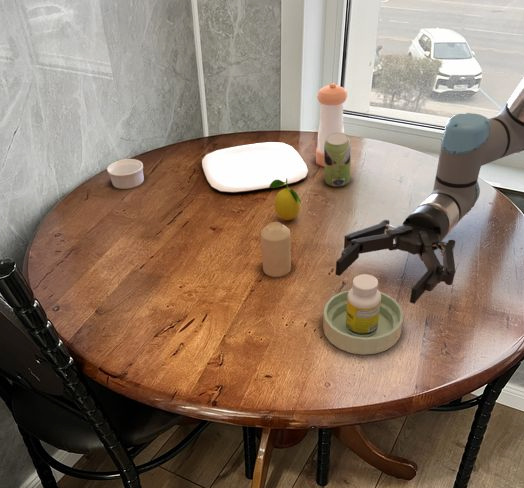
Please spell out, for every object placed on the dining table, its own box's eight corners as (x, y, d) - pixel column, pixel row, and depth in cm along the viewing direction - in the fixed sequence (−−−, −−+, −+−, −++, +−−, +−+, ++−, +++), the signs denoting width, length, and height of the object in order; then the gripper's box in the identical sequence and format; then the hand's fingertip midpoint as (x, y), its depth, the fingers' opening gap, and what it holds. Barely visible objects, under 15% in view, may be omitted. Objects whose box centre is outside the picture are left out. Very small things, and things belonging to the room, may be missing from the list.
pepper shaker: (336, 154, 143) (339, 76, 129) (349, 165, 138) (353, 85, 124) (311, 159, 141) (312, 81, 128) (323, 170, 136) (325, 91, 123)
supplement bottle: (345, 316, 94) (348, 270, 88) (376, 317, 94) (382, 271, 87) (345, 337, 90) (348, 291, 84) (378, 338, 90) (384, 292, 83)
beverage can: (350, 177, 133) (353, 128, 124) (348, 192, 128) (351, 142, 119) (324, 177, 134) (326, 128, 125) (321, 191, 129) (323, 141, 120)
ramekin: (153, 178, 138) (149, 161, 135) (131, 193, 133) (128, 177, 130) (125, 172, 141) (121, 156, 138) (103, 187, 136) (99, 171, 133)
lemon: (270, 215, 122) (268, 173, 115) (295, 211, 122) (295, 169, 116) (277, 230, 117) (275, 187, 110) (303, 226, 118) (303, 183, 111)
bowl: (412, 321, 94) (415, 303, 91) (381, 367, 86) (383, 349, 83) (344, 298, 99) (345, 280, 96) (309, 340, 91) (309, 322, 89)
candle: (292, 277, 104) (291, 232, 98) (264, 279, 104) (261, 234, 97) (289, 261, 108) (288, 216, 102) (262, 263, 108) (259, 219, 101)
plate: (213, 202, 127) (213, 195, 126) (197, 158, 145) (197, 151, 144) (316, 185, 131) (316, 178, 130) (288, 144, 149) (288, 137, 148)
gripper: (492, 261, 96) (443, 327, 84) (368, 222, 107) (309, 276, 96) (503, 224, 91) (452, 289, 79) (371, 187, 102) (309, 239, 91)
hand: (373, 282), depth 87 cm, fingers open, 13 cm apart
